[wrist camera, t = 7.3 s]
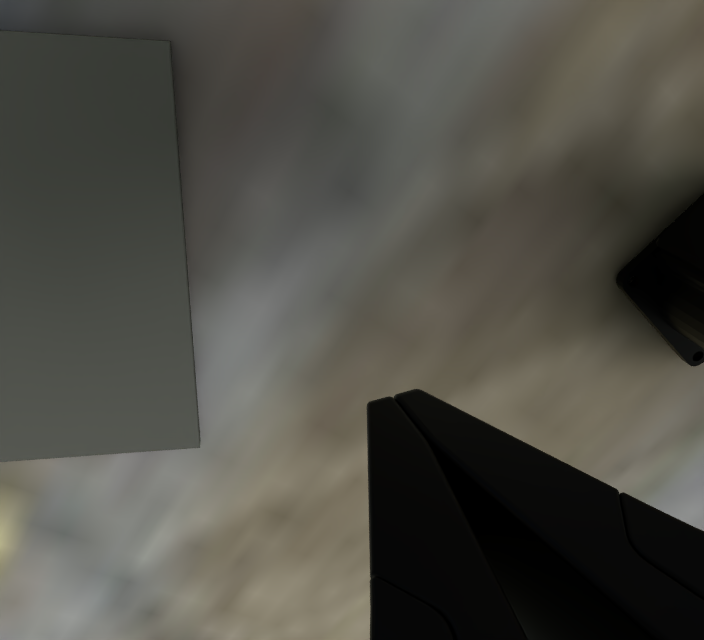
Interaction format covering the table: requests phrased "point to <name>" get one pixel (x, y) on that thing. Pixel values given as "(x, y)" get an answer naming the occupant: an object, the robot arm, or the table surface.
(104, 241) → the rubber mat
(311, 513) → the table surface
